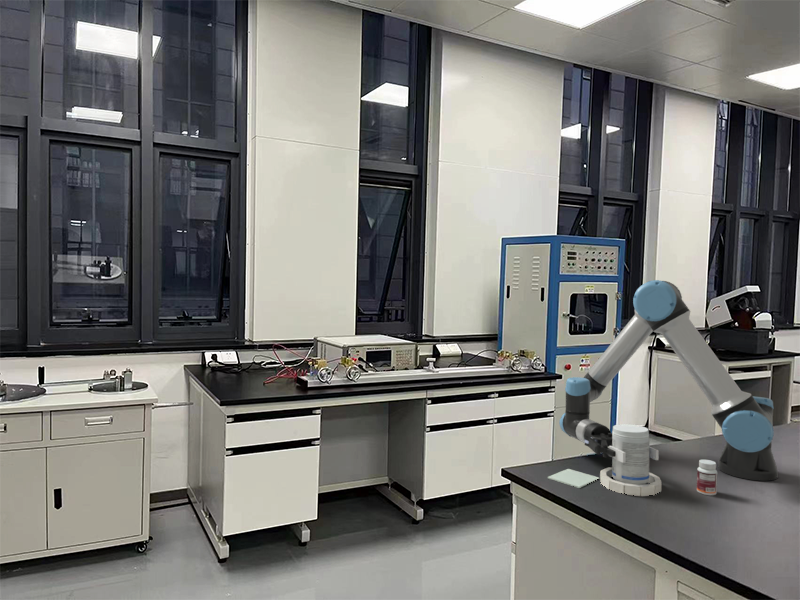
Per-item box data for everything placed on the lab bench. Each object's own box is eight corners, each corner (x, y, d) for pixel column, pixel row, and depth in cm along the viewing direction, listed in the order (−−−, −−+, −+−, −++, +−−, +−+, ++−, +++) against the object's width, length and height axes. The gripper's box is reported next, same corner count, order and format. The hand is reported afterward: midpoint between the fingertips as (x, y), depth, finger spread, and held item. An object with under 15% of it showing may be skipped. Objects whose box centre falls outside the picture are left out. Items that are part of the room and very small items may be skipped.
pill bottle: (699, 487, 156) (701, 457, 155) (718, 492, 152) (720, 462, 152) (693, 492, 152) (695, 461, 152) (713, 497, 149) (714, 465, 149)
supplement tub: (656, 482, 155) (657, 429, 155) (635, 489, 150) (636, 434, 149) (625, 472, 163) (626, 421, 163) (604, 478, 158) (605, 426, 158)
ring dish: (670, 486, 156) (670, 477, 156) (645, 500, 146) (645, 491, 146) (616, 471, 168) (616, 463, 168) (589, 484, 157) (590, 475, 157)
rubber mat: (599, 479, 161) (599, 477, 161) (579, 488, 154) (579, 486, 154) (568, 470, 169) (568, 468, 169) (547, 478, 161) (547, 476, 161)
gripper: (625, 444, 177) (675, 467, 155) (561, 448, 171) (604, 473, 150) (625, 420, 176) (676, 440, 154) (561, 424, 171) (604, 445, 149)
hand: (640, 456), depth 152 cm, fingers closed on supplement tub, 9 cm apart
